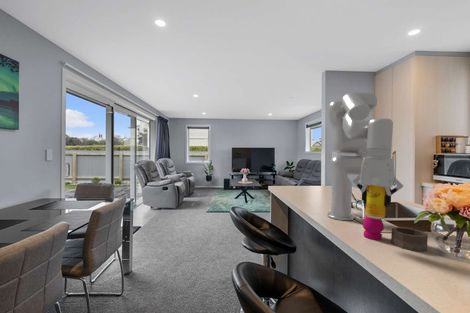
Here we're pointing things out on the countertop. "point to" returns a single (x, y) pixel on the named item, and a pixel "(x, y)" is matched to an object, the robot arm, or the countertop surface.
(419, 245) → the socket
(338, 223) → the countertop surface
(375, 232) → the pepper mill
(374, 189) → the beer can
